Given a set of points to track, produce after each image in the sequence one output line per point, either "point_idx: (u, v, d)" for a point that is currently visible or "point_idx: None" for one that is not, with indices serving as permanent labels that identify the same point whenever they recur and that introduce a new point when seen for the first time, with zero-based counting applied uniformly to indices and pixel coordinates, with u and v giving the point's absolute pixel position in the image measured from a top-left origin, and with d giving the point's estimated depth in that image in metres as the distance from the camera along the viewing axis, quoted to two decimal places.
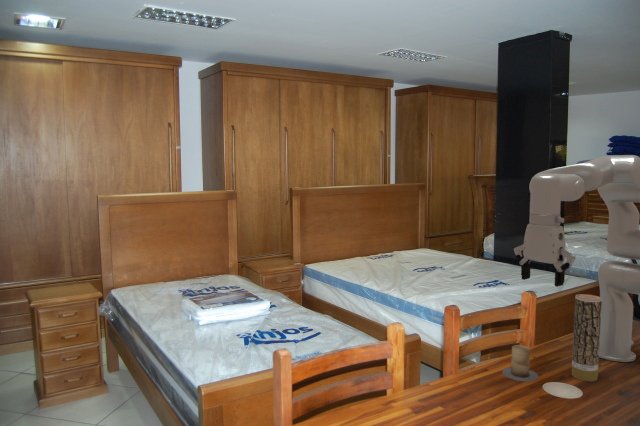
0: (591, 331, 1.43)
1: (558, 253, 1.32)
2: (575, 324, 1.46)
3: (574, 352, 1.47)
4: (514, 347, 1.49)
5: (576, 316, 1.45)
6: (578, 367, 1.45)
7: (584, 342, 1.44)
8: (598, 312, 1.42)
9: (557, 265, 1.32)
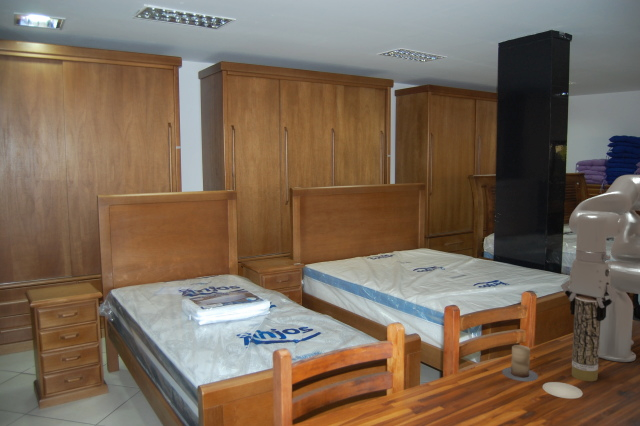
0: (591, 331, 1.43)
1: (604, 288, 1.40)
2: (575, 324, 1.46)
3: (574, 352, 1.47)
4: (514, 347, 1.49)
5: (576, 316, 1.45)
6: (578, 367, 1.45)
7: (584, 342, 1.44)
8: None
9: (600, 301, 1.41)
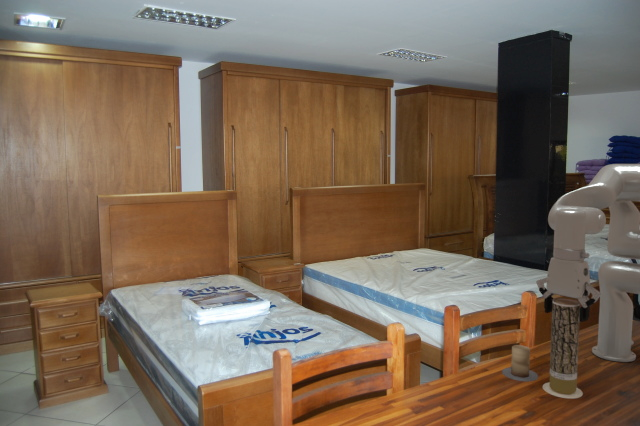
0: (568, 337, 1.34)
1: (583, 288, 1.31)
2: (552, 330, 1.37)
3: (551, 360, 1.38)
4: (514, 347, 1.49)
5: (553, 322, 1.37)
6: (556, 376, 1.36)
7: (561, 350, 1.35)
8: (576, 318, 1.34)
9: (582, 300, 1.31)
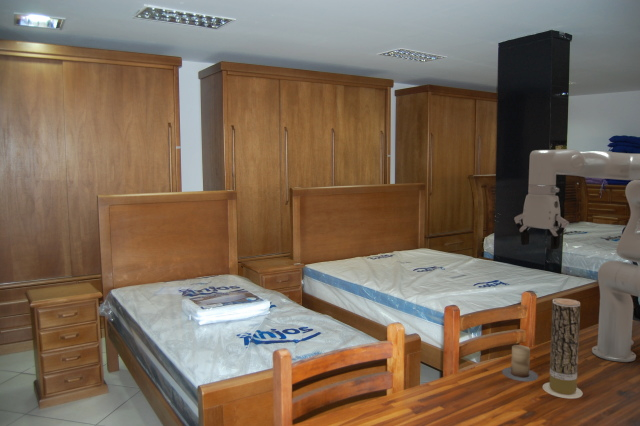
0: (569, 337, 1.34)
1: (554, 219, 1.48)
2: (552, 330, 1.37)
3: (552, 360, 1.38)
4: (514, 347, 1.49)
5: (553, 322, 1.37)
6: (556, 376, 1.36)
7: (561, 350, 1.35)
8: (576, 318, 1.34)
9: (553, 230, 1.48)
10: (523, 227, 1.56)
